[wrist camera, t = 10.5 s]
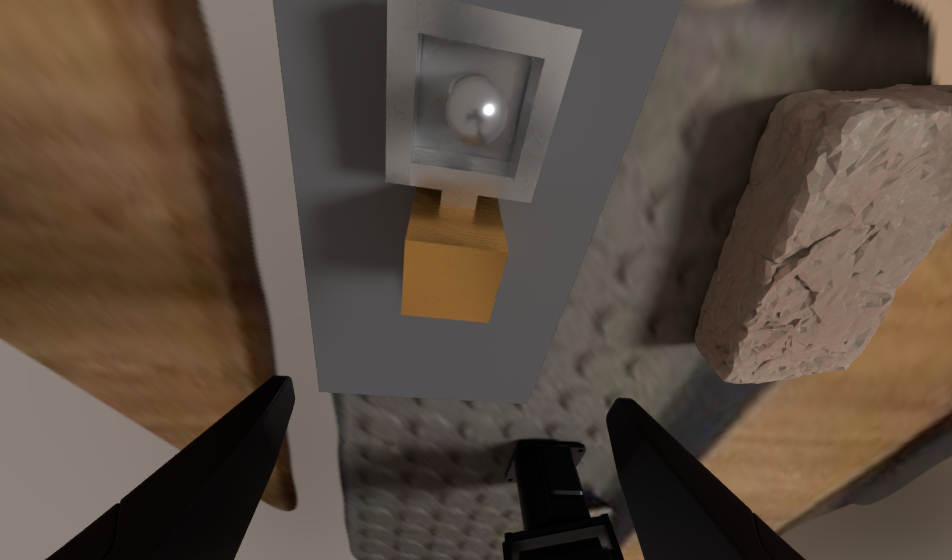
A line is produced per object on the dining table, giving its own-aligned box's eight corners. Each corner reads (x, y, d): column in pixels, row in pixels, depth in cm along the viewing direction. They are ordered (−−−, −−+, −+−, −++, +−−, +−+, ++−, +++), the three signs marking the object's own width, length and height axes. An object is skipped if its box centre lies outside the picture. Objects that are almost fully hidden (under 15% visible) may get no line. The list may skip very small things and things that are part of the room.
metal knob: (518, 172, 18) (540, 212, 13) (398, 154, 17) (379, 190, 12) (552, 28, 14) (596, 18, 10) (405, -4, 13) (384, -30, 9)
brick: (765, 95, 17) (859, 109, 13) (934, 78, 17) (1077, 87, 13) (681, 339, 26) (722, 390, 22) (791, 328, 26) (850, 377, 22)
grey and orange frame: (493, 294, 22) (501, 359, 18) (389, 284, 21) (374, 349, 17) (568, 26, 13) (613, 38, 9) (396, -12, 12) (367, -16, 8)
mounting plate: (525, 398, 28) (527, 404, 28) (321, 385, 26) (319, 391, 26) (677, -4, 14) (685, -6, 14) (267, -105, 12) (259, -111, 12)
